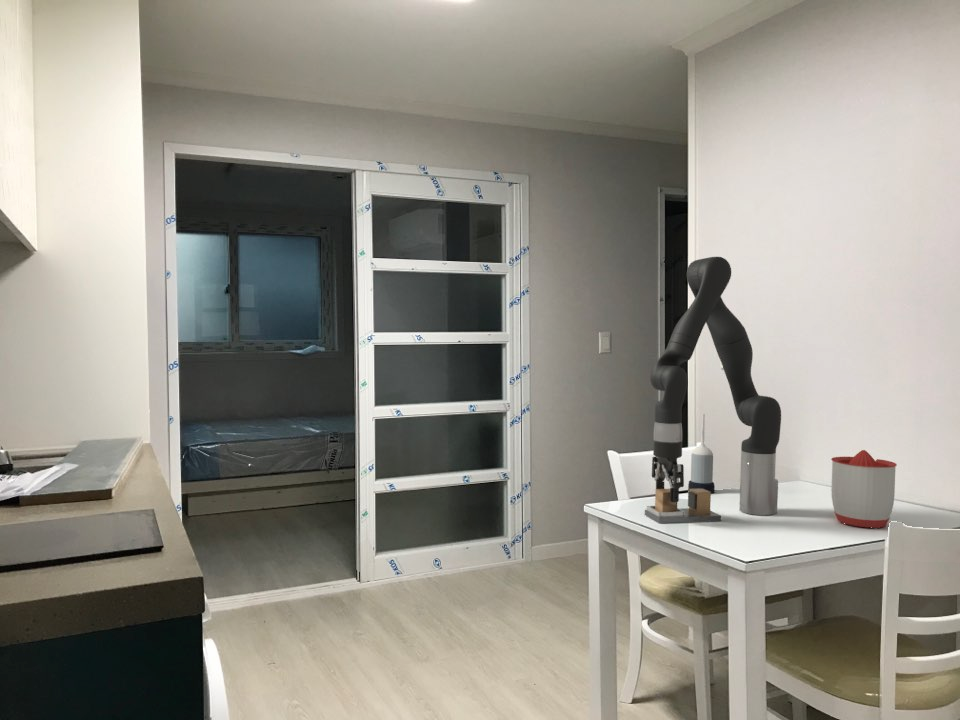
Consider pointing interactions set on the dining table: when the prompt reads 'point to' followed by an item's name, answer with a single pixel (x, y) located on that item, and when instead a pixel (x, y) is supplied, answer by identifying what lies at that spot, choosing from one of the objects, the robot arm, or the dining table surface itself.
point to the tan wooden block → (664, 501)
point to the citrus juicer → (863, 490)
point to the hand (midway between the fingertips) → (666, 498)
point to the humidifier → (702, 466)
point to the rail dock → (687, 510)
